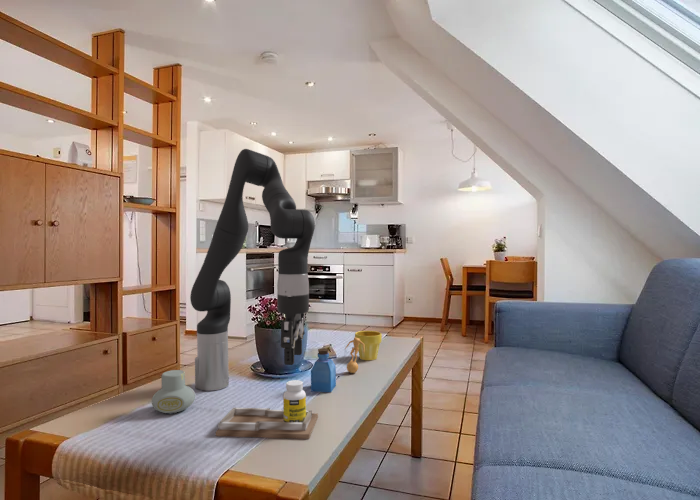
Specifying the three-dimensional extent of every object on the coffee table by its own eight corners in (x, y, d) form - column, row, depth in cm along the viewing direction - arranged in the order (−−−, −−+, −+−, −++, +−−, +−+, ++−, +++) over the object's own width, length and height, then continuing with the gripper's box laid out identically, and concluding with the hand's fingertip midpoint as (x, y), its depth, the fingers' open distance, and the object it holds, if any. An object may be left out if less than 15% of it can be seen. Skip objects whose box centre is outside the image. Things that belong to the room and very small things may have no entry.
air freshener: (197, 402, 121) (197, 367, 121) (192, 413, 113) (191, 376, 113) (156, 405, 119) (156, 369, 119) (148, 417, 111) (147, 378, 111)
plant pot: (386, 357, 167) (386, 331, 167) (373, 363, 158) (373, 337, 158) (363, 353, 172) (363, 329, 172) (350, 359, 164) (349, 334, 163)
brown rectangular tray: (215, 436, 100) (215, 425, 99) (234, 415, 111) (234, 405, 111) (309, 438, 97) (309, 427, 97) (318, 417, 109) (317, 407, 109)
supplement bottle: (287, 429, 100) (287, 387, 100) (280, 421, 105) (279, 381, 105) (309, 424, 103) (308, 383, 103) (301, 416, 108) (300, 377, 107)
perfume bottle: (331, 392, 128) (330, 352, 128) (311, 391, 129) (310, 351, 129) (335, 385, 134) (335, 347, 134) (316, 384, 135) (316, 346, 135)
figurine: (339, 372, 148) (338, 337, 148) (349, 368, 153) (349, 334, 152) (359, 376, 143) (358, 340, 143) (369, 372, 148) (368, 337, 147)
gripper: (285, 289, 111) (285, 351, 111) (269, 295, 96) (269, 367, 97) (314, 289, 110) (314, 352, 110) (302, 296, 96) (302, 368, 96)
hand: (293, 359), depth 103 cm, fingers open, 8 cm apart
